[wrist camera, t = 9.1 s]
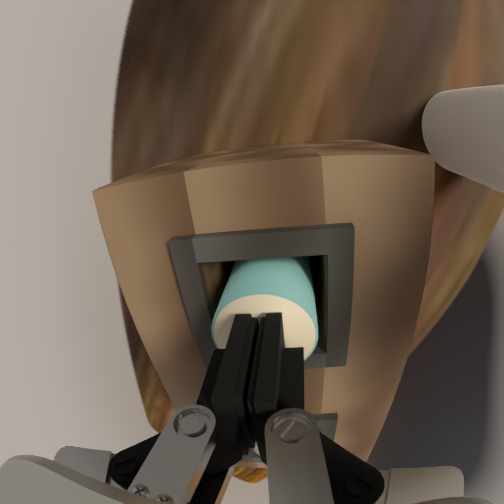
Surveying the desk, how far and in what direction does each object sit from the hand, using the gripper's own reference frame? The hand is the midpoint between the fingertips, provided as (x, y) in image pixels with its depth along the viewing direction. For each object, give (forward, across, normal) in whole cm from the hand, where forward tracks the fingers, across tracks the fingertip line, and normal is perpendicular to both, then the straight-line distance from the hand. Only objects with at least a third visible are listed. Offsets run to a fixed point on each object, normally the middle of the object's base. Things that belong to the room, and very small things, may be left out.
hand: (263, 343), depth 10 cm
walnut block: (+14, 0, +6) cm, 15 cm away
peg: (+12, 0, 0) cm, 12 cm away
